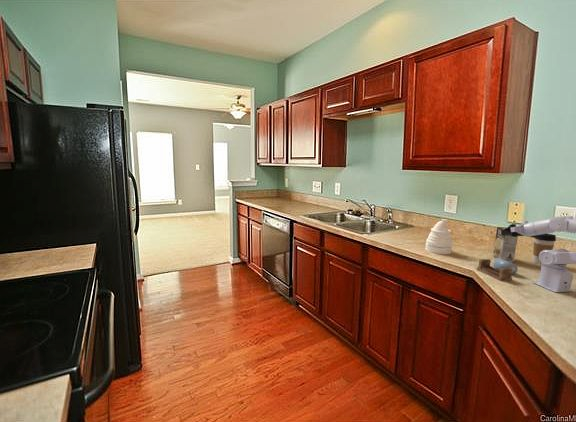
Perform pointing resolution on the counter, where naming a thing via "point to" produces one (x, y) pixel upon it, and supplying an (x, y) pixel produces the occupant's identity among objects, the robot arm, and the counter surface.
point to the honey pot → (439, 239)
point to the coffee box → (504, 246)
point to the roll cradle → (494, 270)
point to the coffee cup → (542, 245)
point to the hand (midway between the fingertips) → (508, 233)
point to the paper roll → (504, 265)
